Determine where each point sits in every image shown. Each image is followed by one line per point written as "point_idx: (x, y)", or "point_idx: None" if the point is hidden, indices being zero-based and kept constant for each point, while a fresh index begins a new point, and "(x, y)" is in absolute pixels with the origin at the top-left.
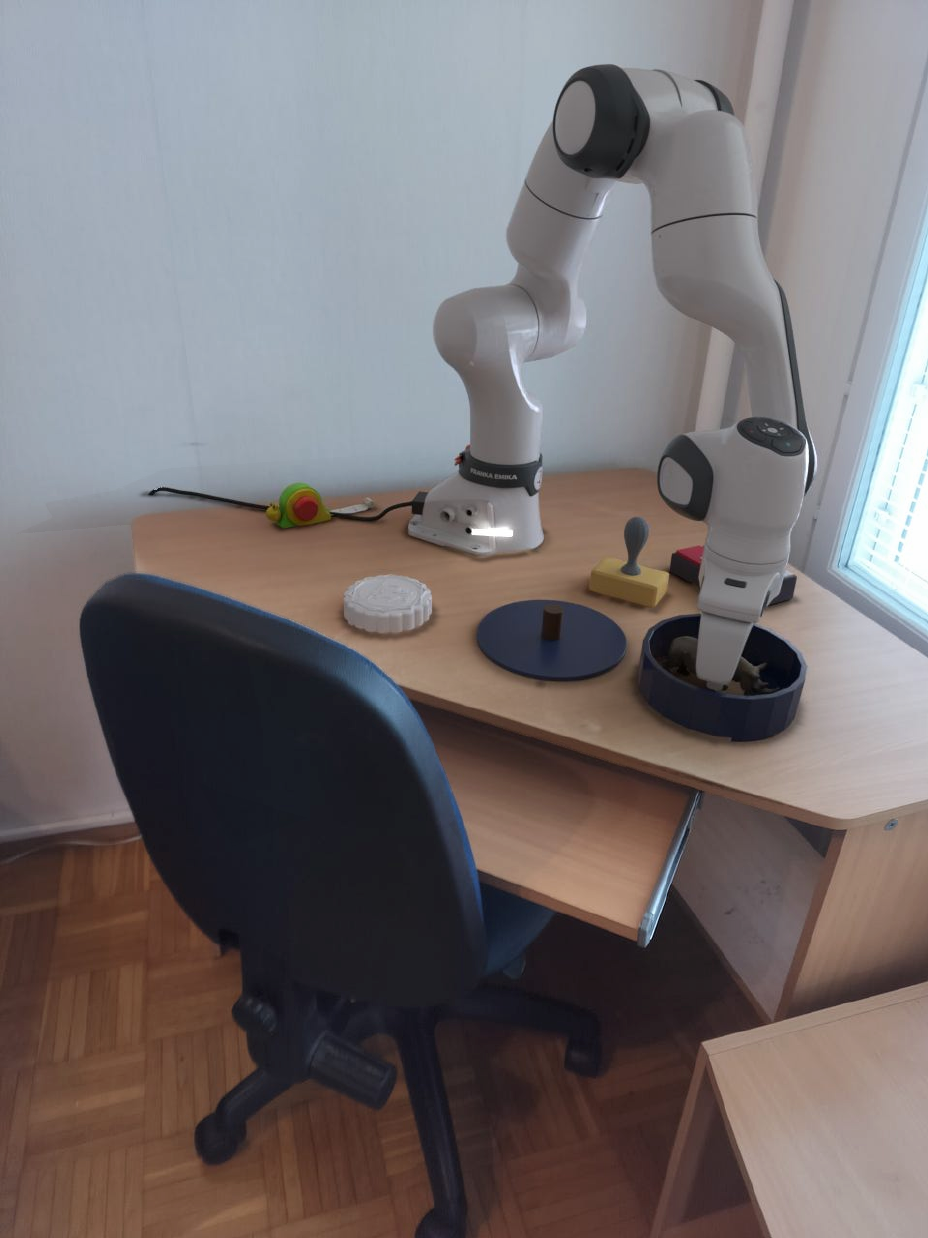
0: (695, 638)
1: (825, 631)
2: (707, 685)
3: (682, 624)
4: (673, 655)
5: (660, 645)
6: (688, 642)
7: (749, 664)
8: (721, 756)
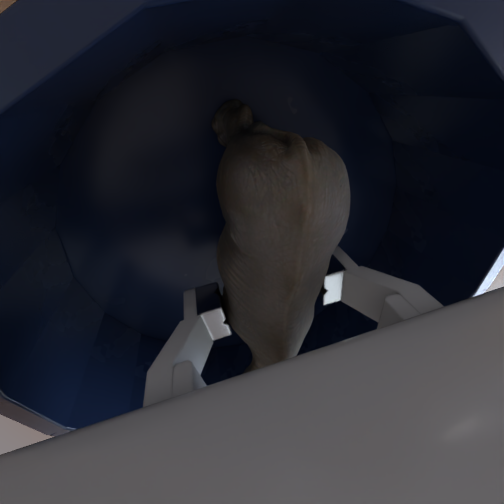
0: (334, 244)
1: (496, 276)
2: (183, 294)
3: (477, 105)
4: (222, 180)
5: (345, 43)
6: (282, 243)
7: None
8: None
